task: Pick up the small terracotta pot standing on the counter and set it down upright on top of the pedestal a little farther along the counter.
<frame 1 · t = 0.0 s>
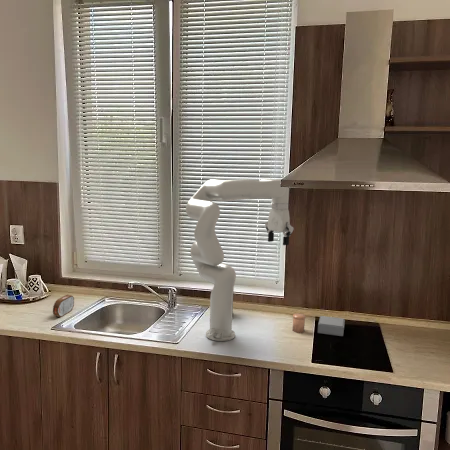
hand: (278, 243, 209), 37 cm above the worktop, tool pointing down, fingers open, 9 cm apart
tin: (64, 314, 215), on the worktop
coffee jar: (224, 314, 221), on the worktop
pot: (298, 330, 203), on the worktop
pedestal: (331, 330, 205), on the worktop
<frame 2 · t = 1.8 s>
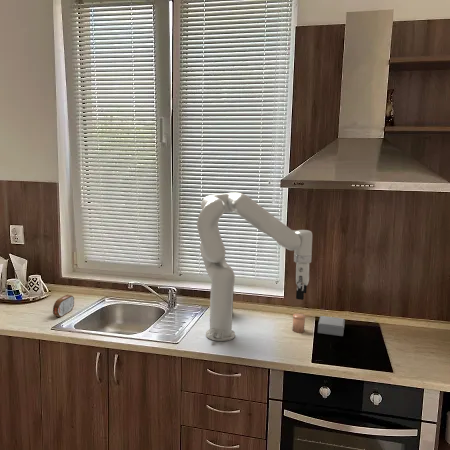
hand: (301, 295, 201), 16 cm above the worktop, tool pointing down, fingers open, 9 cm apart
nothing on the worktop moved.
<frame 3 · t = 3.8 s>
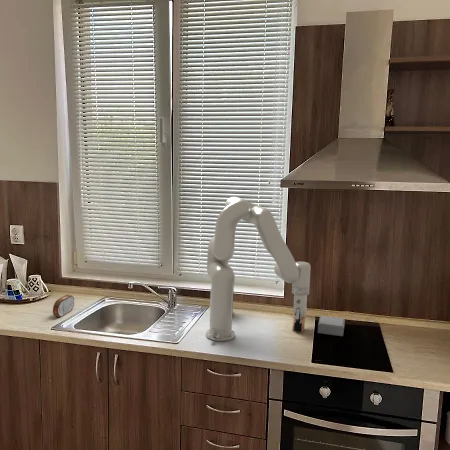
hand: (298, 328, 203), 1 cm above the worktop, tool pointing down, fingers closed on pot, 5 cm apart
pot: (298, 330, 203), on the worktop, touching gripper
everything else where it was.
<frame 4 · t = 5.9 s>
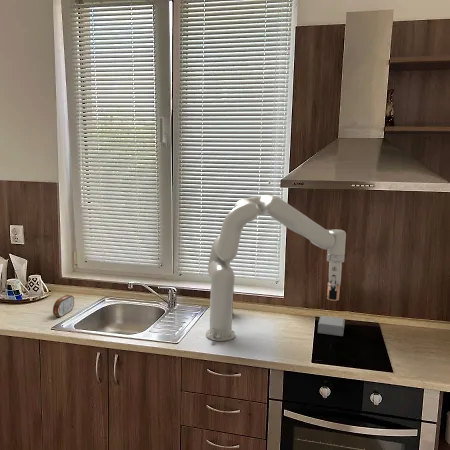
hand: (333, 296, 202), 16 cm above the worktop, tool pointing down, fingers closed on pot, 5 cm apart
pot: (333, 298, 202), point 15 cm above the worktop, touching gripper
everything else where it was.
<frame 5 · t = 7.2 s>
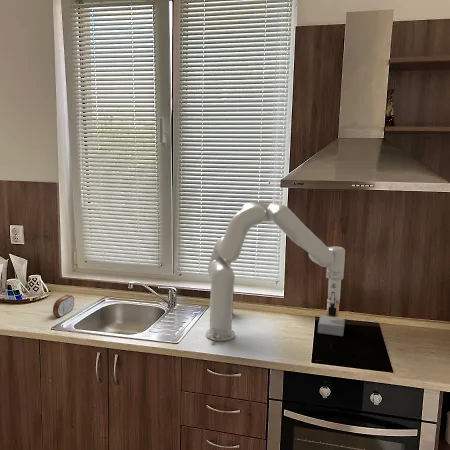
hand: (332, 313, 203), 8 cm above the worktop, tool pointing down, fingers closed on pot, 5 cm apart
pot: (332, 315, 204), point 7 cm above the worktop, touching gripper
everything else where it was.
when the fingers open (7 cm above the worktop, at t = 8.3 s): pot drops 1 cm, resting on pedestal.
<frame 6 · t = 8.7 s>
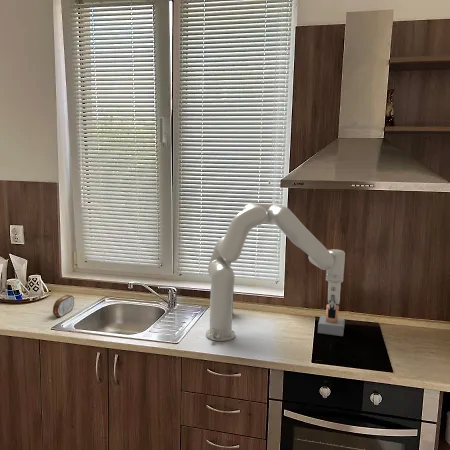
hand: (332, 314, 204), 7 cm above the worktop, tool pointing down, fingers open, 9 cm apart
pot: (331, 321, 204), point 4 cm above the worktop, touching pedestal
everything else where it was.
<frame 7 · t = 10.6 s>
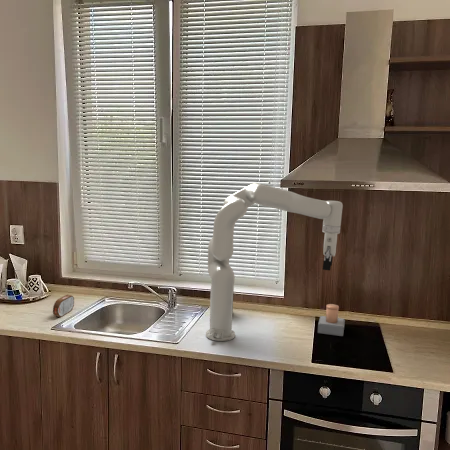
hand: (327, 267, 199), 29 cm above the worktop, tool pointing down, fingers open, 9 cm apart
nothing on the worktop moved.
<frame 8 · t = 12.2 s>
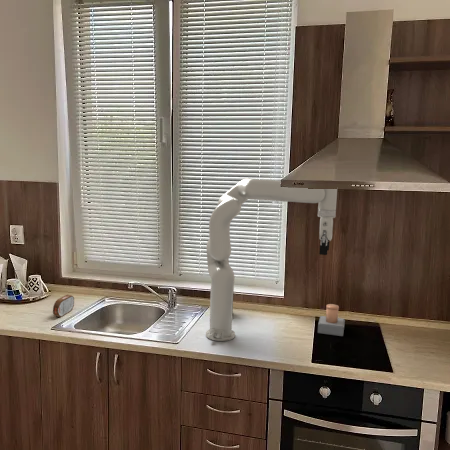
hand: (324, 252, 197), 36 cm above the worktop, tool pointing down, fingers open, 9 cm apart
nothing on the worktop moved.
at the end: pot inside the target area on the pedestal (0.2 cm from its centre), point 4.3 cm above the pedestal's base; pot tilted 0°; the gripper is holding nothing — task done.
